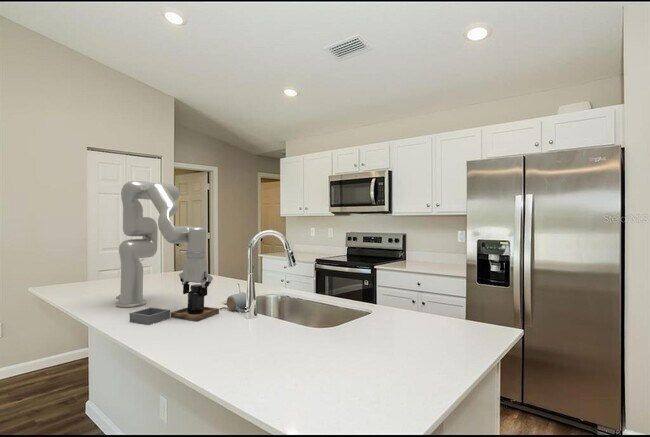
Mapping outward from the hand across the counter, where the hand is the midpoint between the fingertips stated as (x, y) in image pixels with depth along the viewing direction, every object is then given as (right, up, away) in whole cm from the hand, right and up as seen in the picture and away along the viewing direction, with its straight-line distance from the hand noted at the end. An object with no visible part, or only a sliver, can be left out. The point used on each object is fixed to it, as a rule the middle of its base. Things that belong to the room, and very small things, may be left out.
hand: (194, 294), depth 155 cm
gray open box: (-16, -9, -8) cm, 20 cm away
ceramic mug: (+17, -10, +10) cm, 22 cm away
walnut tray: (0, -9, 0) cm, 9 cm away
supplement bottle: (0, -8, 0) cm, 8 cm away
